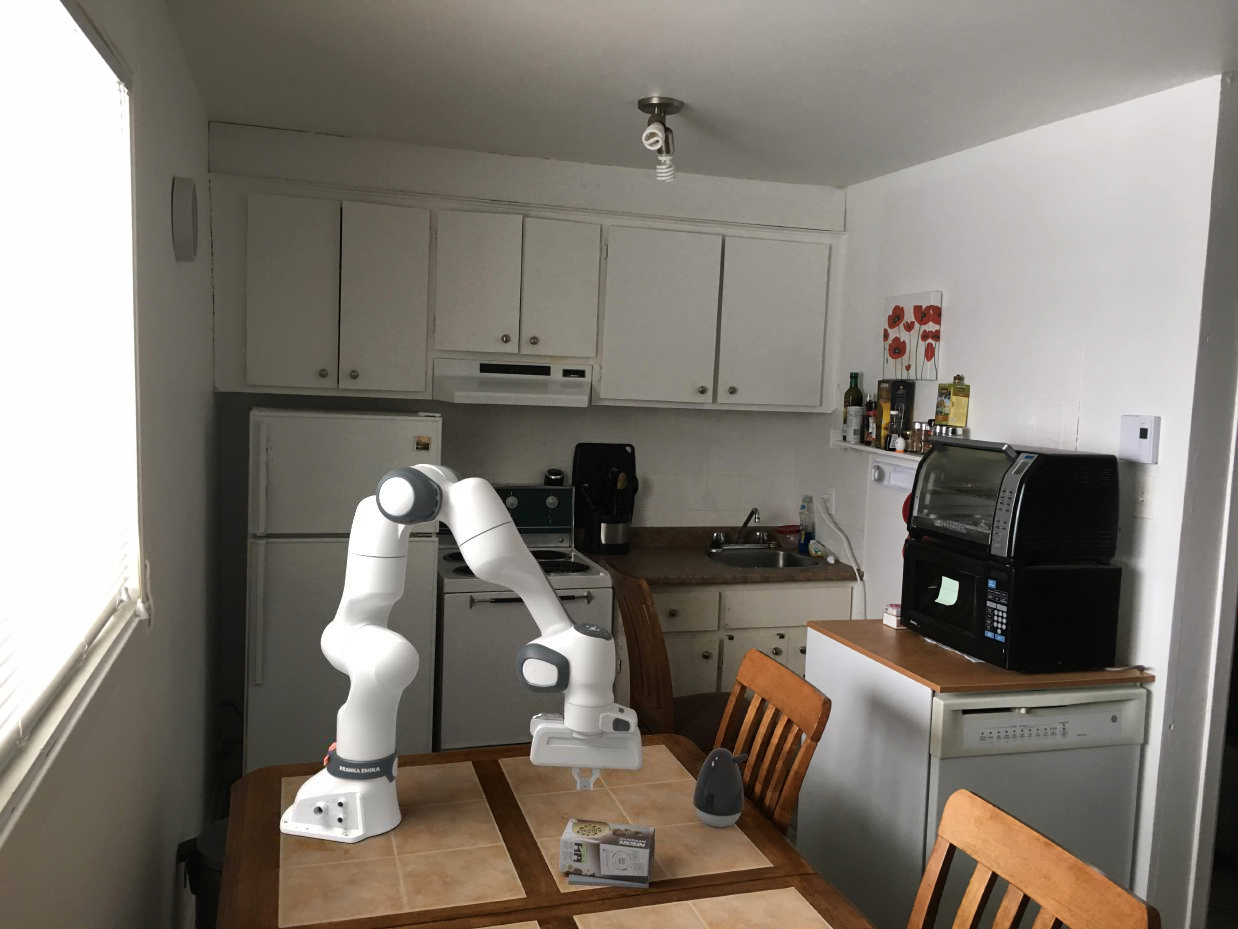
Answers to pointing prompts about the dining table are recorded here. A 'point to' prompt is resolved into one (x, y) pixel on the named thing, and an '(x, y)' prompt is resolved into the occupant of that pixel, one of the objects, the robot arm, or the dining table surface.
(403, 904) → the dining table surface
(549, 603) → the robot arm
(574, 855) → the coffee box
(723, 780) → the pump dispenser
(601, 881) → the mat
